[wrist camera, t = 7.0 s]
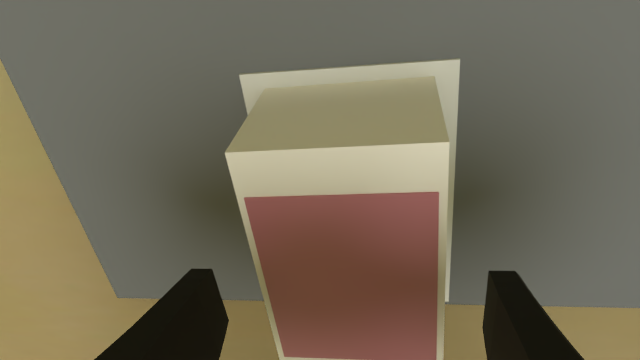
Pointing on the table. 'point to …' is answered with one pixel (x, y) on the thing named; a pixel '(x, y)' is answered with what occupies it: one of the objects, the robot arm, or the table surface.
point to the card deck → (348, 217)
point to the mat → (330, 68)
